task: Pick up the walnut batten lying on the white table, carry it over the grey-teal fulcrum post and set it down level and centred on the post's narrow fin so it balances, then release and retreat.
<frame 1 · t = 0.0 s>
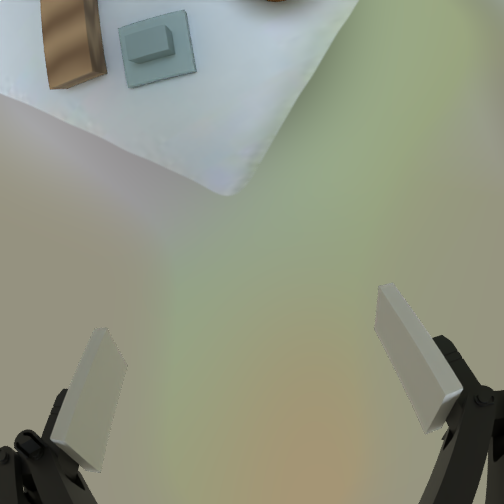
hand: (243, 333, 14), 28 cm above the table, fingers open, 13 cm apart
fulcrum: (158, 49, 31), on the table
batten: (79, 22, 28), on the table
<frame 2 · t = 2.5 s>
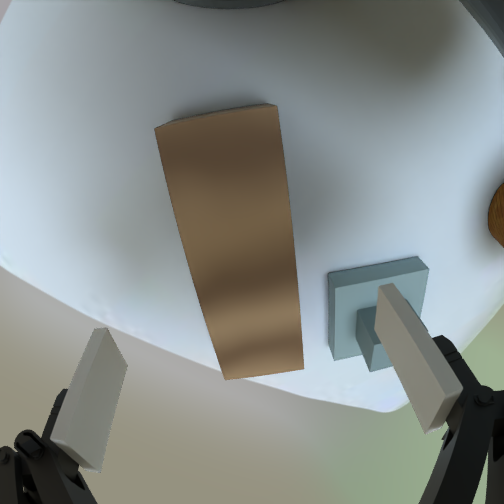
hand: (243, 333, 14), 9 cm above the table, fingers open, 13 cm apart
fulcrum: (372, 303, 26), on the table
batten: (242, 238, 23), on the table
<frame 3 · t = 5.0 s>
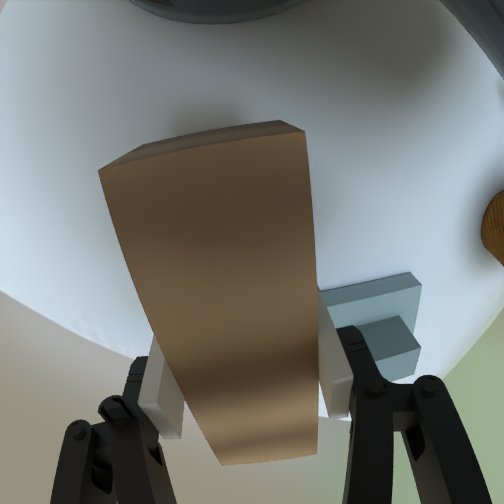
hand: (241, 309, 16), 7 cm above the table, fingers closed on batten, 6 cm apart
fulcrum: (365, 320, 26), on the table
batten: (242, 304, 17), point 6 cm above the table, touching gripper
disposable coffee cup: (501, 220, 23), on the table
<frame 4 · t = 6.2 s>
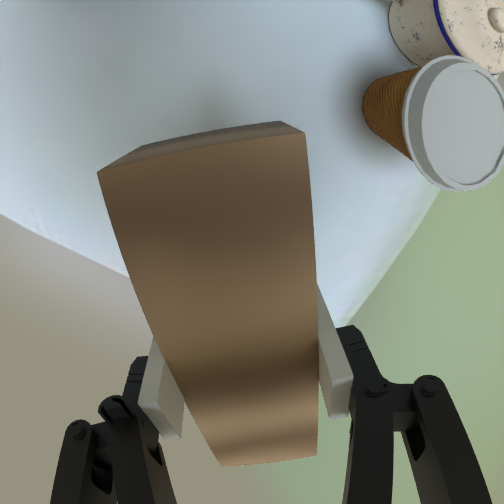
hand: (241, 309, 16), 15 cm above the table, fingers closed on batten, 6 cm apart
teacup with lid: (412, 22, 21), on the table
batten: (242, 305, 17), point 15 cm above the table, touching gripper
disposable coffee cup: (391, 108, 26), on the table
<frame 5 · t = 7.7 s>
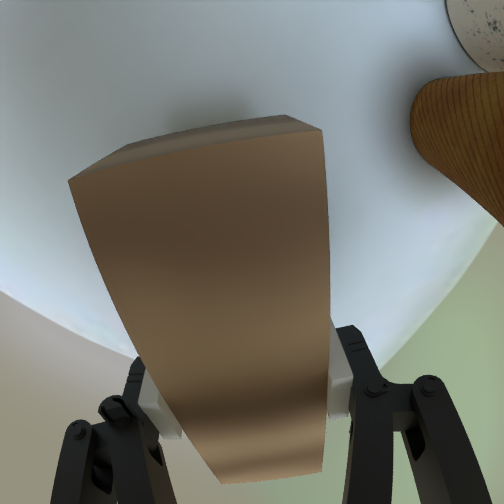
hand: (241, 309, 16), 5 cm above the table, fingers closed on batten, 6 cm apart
teacup with lid: (472, 9, 12), on the table
batten: (242, 319, 15), point 6 cm above the table, touching fulcrum, gripper
disposable coffee cup: (445, 123, 17), on the table
when the fingers open (5 cm above the table, at t = 7.8 s): batten stays where it is, resting on fulcrum.
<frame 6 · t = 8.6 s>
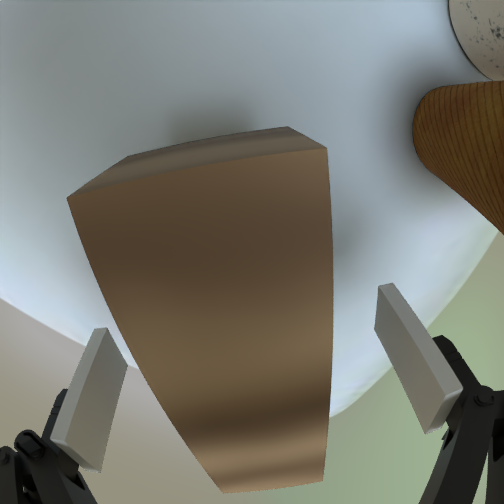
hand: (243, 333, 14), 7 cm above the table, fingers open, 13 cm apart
teacup with lid: (475, 15, 13), on the table
batten: (244, 331, 15), point 6 cm above the table, touching fulcrum
disposable coffee cup: (448, 131, 17), on the table
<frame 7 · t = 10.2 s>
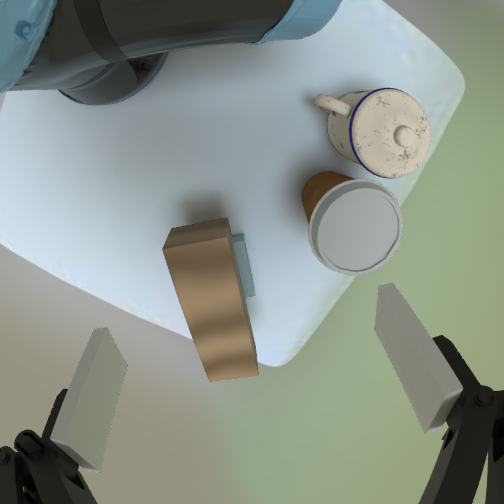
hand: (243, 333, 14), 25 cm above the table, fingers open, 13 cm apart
teacup with lid: (349, 120, 34), on the table
fulcrum: (218, 267, 42), on the table
batten: (217, 295, 36), point 6 cm above the table, touching fulcrum
disposable coffee cup: (326, 195, 38), on the table
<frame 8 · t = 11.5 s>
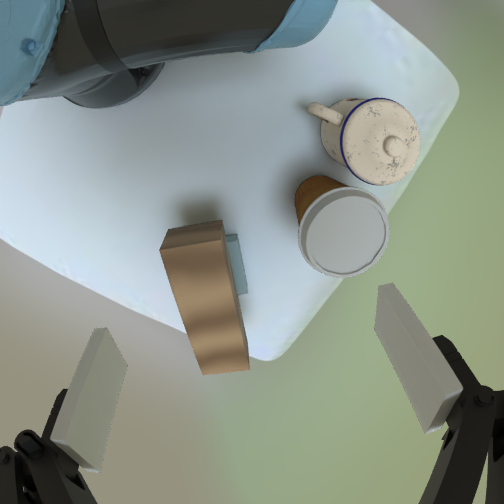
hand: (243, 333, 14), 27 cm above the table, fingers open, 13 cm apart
teacup with lid: (342, 126, 36), on the table
fulcrum: (213, 265, 43), on the table
batten: (211, 292, 38), point 6 cm above the table, touching fulcrum
disposable coffee cup: (318, 198, 40), on the table
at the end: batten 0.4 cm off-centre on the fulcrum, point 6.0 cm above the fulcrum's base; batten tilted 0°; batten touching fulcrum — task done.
